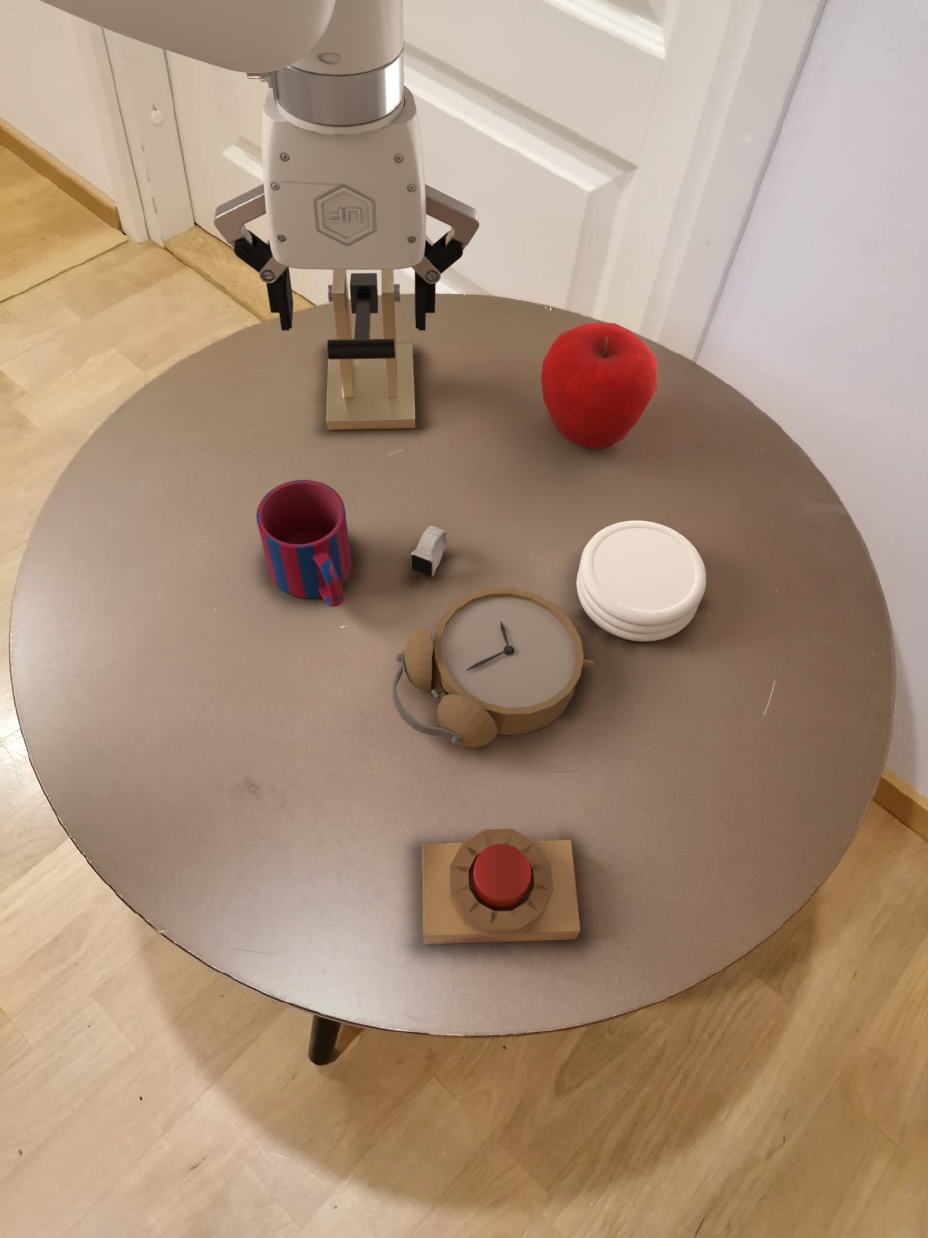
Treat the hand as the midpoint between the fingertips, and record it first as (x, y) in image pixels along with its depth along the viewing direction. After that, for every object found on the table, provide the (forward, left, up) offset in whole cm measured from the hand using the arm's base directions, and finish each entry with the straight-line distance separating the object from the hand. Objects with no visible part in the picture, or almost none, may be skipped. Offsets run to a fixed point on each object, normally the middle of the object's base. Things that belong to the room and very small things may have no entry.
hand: (354, 317), depth 68 cm
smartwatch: (-2, -11, -17) cm, 21 cm away
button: (-17, -35, -13) cm, 41 cm away
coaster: (+9, -24, -17) cm, 31 cm away
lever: (+3, +4, -6) cm, 7 cm away
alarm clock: (-6, -22, -17) cm, 29 cm away
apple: (+19, -9, -17) cm, 27 cm away
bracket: (+7, +8, -17) cm, 20 cm away
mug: (-10, -6, -17) cm, 21 cm away
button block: (-17, -35, -17) cm, 42 cm away
